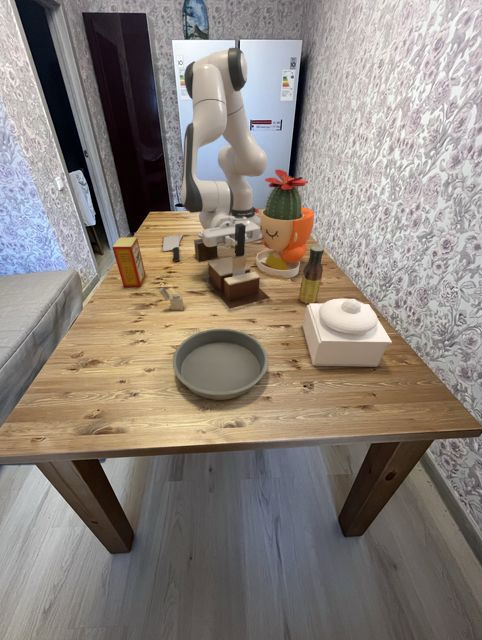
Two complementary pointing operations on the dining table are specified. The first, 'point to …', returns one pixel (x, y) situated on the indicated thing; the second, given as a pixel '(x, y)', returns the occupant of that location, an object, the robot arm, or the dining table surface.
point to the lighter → (173, 300)
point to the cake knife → (239, 251)
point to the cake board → (237, 301)
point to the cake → (221, 271)
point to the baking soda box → (129, 261)
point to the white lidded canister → (344, 334)
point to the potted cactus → (284, 227)
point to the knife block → (204, 251)
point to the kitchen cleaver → (172, 245)
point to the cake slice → (241, 285)
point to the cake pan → (220, 363)
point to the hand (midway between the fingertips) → (241, 242)
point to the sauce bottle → (312, 276)
